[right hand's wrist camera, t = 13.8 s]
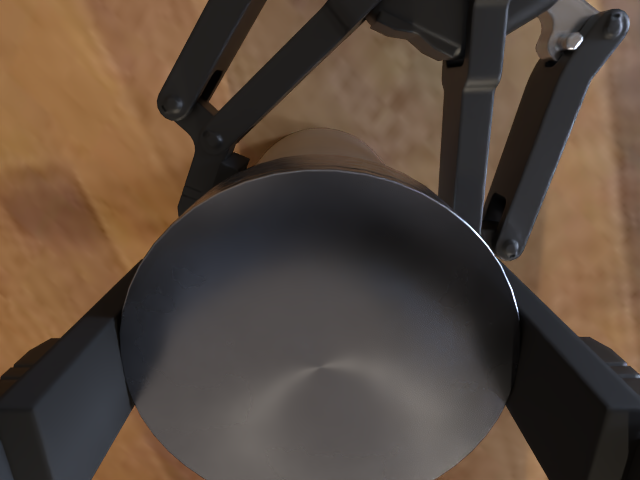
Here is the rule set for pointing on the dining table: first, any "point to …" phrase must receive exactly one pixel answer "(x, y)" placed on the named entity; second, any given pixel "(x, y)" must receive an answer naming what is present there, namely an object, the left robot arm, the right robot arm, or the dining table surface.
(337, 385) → the lid
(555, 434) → the right robot arm
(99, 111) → the dining table surface
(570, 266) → the dining table surface
